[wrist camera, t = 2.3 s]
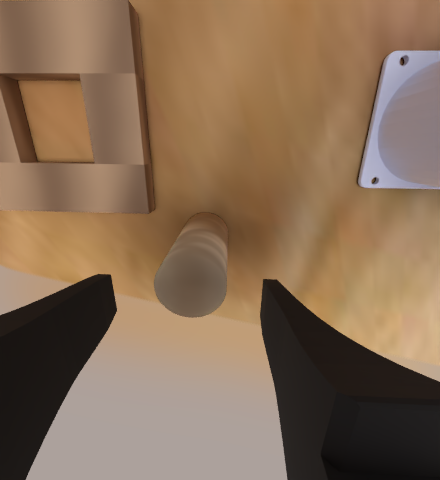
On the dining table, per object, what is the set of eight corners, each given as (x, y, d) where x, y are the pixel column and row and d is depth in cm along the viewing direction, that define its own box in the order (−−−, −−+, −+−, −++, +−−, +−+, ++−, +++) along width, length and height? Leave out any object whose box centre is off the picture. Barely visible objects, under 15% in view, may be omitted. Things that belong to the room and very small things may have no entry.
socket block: (137, 14, 14) (127, -1, 13) (155, 208, 19) (148, 213, 17) (-53, 15, 15) (-83, 1, 13) (7, 205, 19) (-11, 209, 18)
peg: (228, 212, 18) (227, 255, 11) (227, 254, 20) (225, 318, 12) (183, 211, 19) (150, 253, 11) (184, 253, 20) (157, 316, 12)
